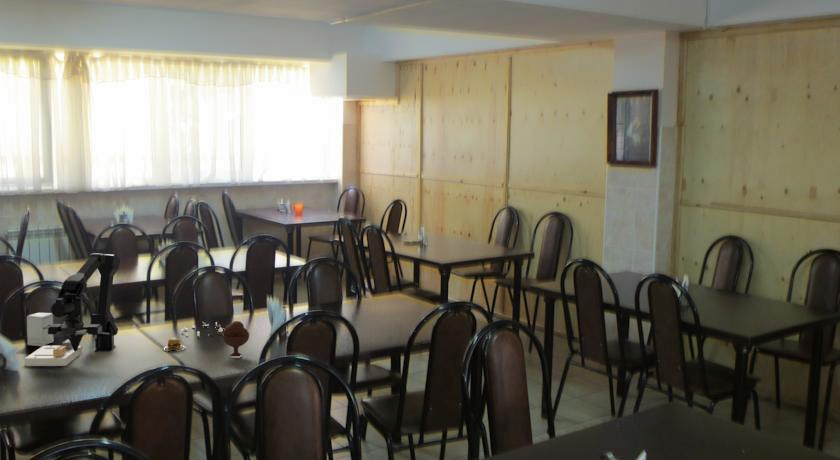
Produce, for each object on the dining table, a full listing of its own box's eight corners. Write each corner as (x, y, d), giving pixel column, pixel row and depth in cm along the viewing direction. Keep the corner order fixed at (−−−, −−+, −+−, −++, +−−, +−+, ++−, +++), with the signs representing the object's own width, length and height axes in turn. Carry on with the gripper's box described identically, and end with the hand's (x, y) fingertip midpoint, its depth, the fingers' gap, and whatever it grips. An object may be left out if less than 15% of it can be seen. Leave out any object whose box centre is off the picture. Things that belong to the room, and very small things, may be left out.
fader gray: (74, 345, 318) (74, 338, 318) (70, 349, 313) (70, 342, 313) (67, 345, 318) (66, 338, 317) (62, 349, 313) (62, 342, 312)
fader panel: (81, 352, 320) (81, 345, 320) (65, 365, 302) (65, 358, 302) (43, 352, 319) (43, 345, 318) (25, 365, 301) (24, 357, 301)
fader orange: (66, 352, 308) (65, 345, 308) (61, 356, 303) (61, 349, 303) (58, 352, 308) (57, 345, 308) (53, 356, 303) (53, 349, 303)
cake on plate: (195, 348, 333) (195, 336, 332) (178, 355, 321) (178, 342, 321) (170, 345, 336) (170, 333, 336) (153, 352, 325) (153, 339, 324)
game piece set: (233, 331, 361) (233, 323, 360) (201, 341, 344) (200, 332, 343) (203, 325, 370) (203, 317, 370) (170, 334, 353) (169, 326, 353)
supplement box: (42, 346, 328) (41, 316, 326) (27, 345, 329) (26, 315, 328) (54, 342, 335) (53, 313, 334) (39, 340, 336) (37, 311, 335)
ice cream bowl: (254, 354, 324) (254, 319, 322) (239, 361, 313) (239, 324, 311) (232, 351, 327) (232, 316, 325) (216, 358, 317) (216, 322, 315)
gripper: (41, 316, 295) (42, 356, 297) (92, 316, 297) (93, 356, 299) (52, 309, 306) (53, 348, 308) (101, 309, 308) (102, 348, 310)
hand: (75, 350), depth 306 cm, fingers closed
